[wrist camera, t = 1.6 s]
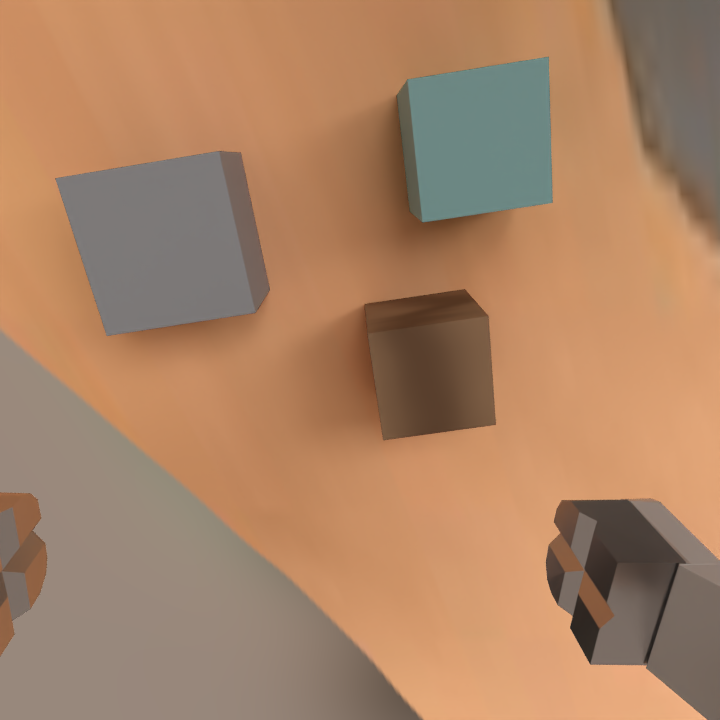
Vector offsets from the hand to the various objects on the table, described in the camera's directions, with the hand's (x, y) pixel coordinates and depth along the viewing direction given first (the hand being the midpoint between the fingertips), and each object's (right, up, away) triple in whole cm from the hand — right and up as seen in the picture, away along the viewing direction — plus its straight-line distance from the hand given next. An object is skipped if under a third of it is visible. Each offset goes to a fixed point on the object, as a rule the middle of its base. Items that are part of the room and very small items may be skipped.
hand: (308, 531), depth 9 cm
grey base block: (-8, +9, +20) cm, 24 cm away
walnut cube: (+4, +4, +22) cm, 23 cm away
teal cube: (+6, +13, +19) cm, 24 cm away
